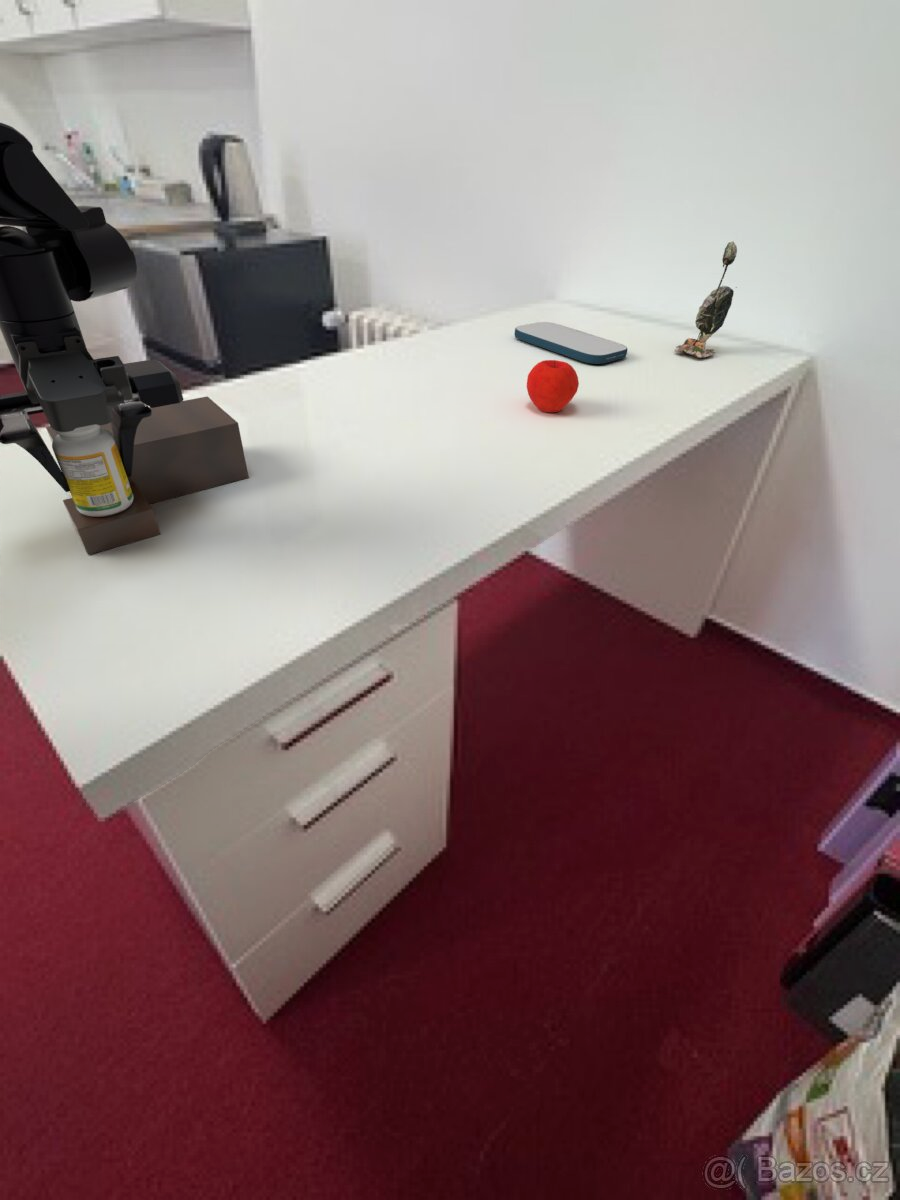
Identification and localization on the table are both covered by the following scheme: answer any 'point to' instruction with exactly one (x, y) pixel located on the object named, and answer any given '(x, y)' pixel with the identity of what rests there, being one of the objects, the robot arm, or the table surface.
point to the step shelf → (167, 468)
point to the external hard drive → (571, 342)
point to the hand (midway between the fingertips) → (98, 482)
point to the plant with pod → (712, 312)
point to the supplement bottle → (93, 470)
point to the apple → (552, 385)
